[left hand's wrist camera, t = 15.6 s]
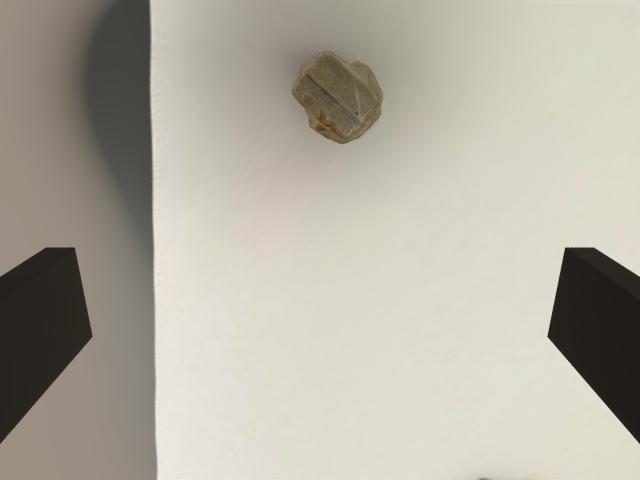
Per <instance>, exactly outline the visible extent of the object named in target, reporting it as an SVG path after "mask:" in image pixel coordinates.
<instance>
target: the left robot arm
mask: <svg viewBox="0 0 640 480" xmlns="http://www.w3.org/2000/svg"><path fill="white" fill-rule="evenodd" d="M547 337H548V338H549V339H550V340H551V341H552V343H553V344H554V345H555V346H556V347H557V348H558V350H559V351H560V352H561V353H562V354H563V355H564V356H565V358H566V359H567V360H568V361H569V362H570V363H571V365H572V366H573V367H574V368H575V369H576V370H577V372H578V373H579V374H580V375H581V376H582V377H583V379H584V380H585V381H586V382H587V383H588V384H589V386H590V387H591V388H592V389H593V390H594V391H595V392H596V394H597V395H598V396H599V397H600V398H601V399H602V401H603V402H604V403H605V404H606V405H607V406H608V408H609V409H610V410H611V411H612V412H613V413H614V415H615V416H616V417H617V418H618V419H619V420H620V421H621V423H622V424H623V425H624V426H625V427H626V428H627V430H628V431H629V432H630V433H631V434H632V435H633V437H634V438H635V439H636V440H637V441H638V442H639V444H640V277H639V276H638V275H636V274H634V273H633V272H631V271H630V270H628V269H627V268H625V267H624V266H622V265H620V264H619V263H617V262H616V261H614V260H613V259H611V258H609V257H608V256H606V255H605V254H603V253H602V252H600V251H598V250H597V249H595V248H565V251H564V256H563V261H562V266H561V271H560V276H559V281H558V286H557V291H556V296H555V301H554V306H553V311H552V316H551V321H550V326H549V331H548V336H547ZM91 338H92V331H91V326H90V321H89V316H88V311H87V306H86V301H85V296H84V292H83V286H82V281H81V276H80V271H79V266H78V261H77V256H76V251H75V248H45V249H43V250H42V251H40V252H39V253H37V254H35V255H34V256H32V257H31V258H29V259H28V260H26V261H24V262H23V263H21V264H20V265H18V266H17V267H15V268H13V269H12V270H10V271H9V272H7V273H6V274H4V275H2V276H1V277H0V444H1V442H2V441H3V440H4V439H5V438H6V437H7V435H8V434H9V433H10V432H11V431H12V430H13V428H14V427H15V426H16V425H17V424H18V423H19V421H20V420H21V419H22V418H23V417H24V416H25V414H26V413H27V412H28V411H29V410H30V409H31V408H32V406H33V405H34V404H35V403H36V402H37V401H38V399H39V398H40V397H41V396H42V395H43V394H44V392H45V391H46V390H47V389H48V388H49V387H50V385H51V384H52V383H53V382H54V381H55V380H56V379H57V377H58V376H59V375H60V374H61V373H62V372H63V370H64V369H65V368H66V367H67V366H68V365H69V363H70V362H71V361H72V360H73V359H74V358H75V356H76V355H77V354H78V353H79V352H80V351H81V350H82V348H83V347H84V346H85V345H86V344H87V343H88V341H89V340H90V339H91Z"/></svg>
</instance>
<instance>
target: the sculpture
mask: <svg viewBox="0 0 640 480" xmlns="http://www.w3.org/2000/svg"><path fill="white" fill-rule="evenodd" d="M292 94H293V96H294V97H295V98H296V99H297V101H298V102H299V103H300V104H301V105H302V106H303V107H304V108H305V110H306V112H307V114H308V117H309V126H310V127H311V128H312V129H313V130H314V131H316V132H318V133H319V134H321V135H323V136H324V137H325V138H327V139H330V140H333V141H335V142H338V143H340V144H344V143H347V142H350V141H352V140H354V139H357V138H359V137H360V136H362V135H363V134H364V133H365V132H366V131H367V130H368V129H369V128H370V127H371V126H372V125H373V124H374V123H375V122H376V121H377V119H378V118H379V117H380V114H381V110H380V107H381V103H382V99H383V94H382V91H381V88H380V87H379V84H378V82H377V80H376V78H375V75H374V74H373V72H372V70H371V69H370V68H369V67H368V66H366V65H365V64H363V63H361V62H358V61H356V62H354V63H352V64H348V63H346V62H344V61H343V60H342V59H341V58H339V57H338V56H336V55H335V54H334V53H332V52H323V53H321V54H319V55H318V56H317V57H315V58H314V59H313V61H312V62H309V63H306V64H304V65H303V66H302V68H301V72H300V76H299V77H298V79H297V81H296V83H295V84H294V86H293V88H292Z"/></svg>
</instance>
